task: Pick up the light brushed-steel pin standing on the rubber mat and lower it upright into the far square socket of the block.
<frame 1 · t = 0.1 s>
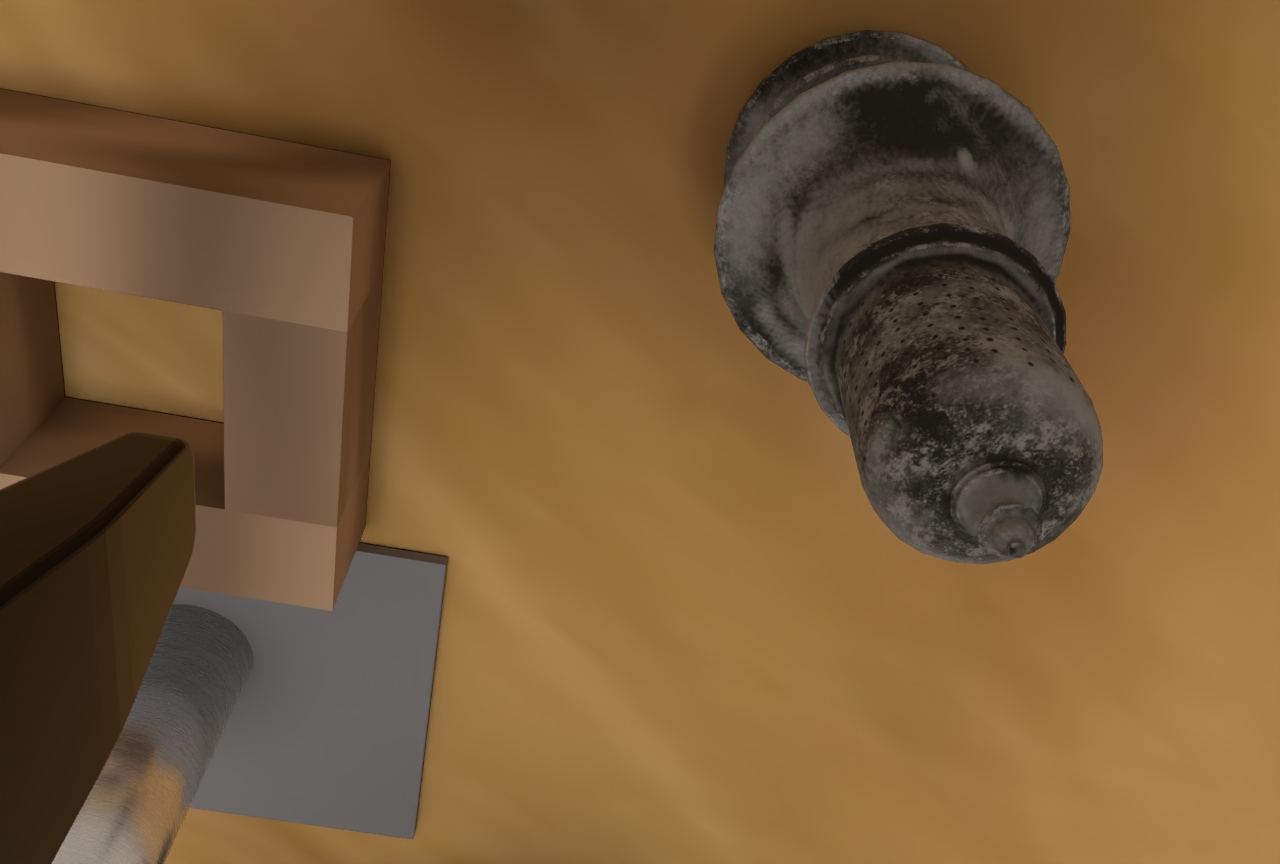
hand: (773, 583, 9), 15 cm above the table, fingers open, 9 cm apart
pin: (193, 650, 29), resting on mat
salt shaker: (859, 168, 22), on the table
mat: (237, 676, 30), on the table
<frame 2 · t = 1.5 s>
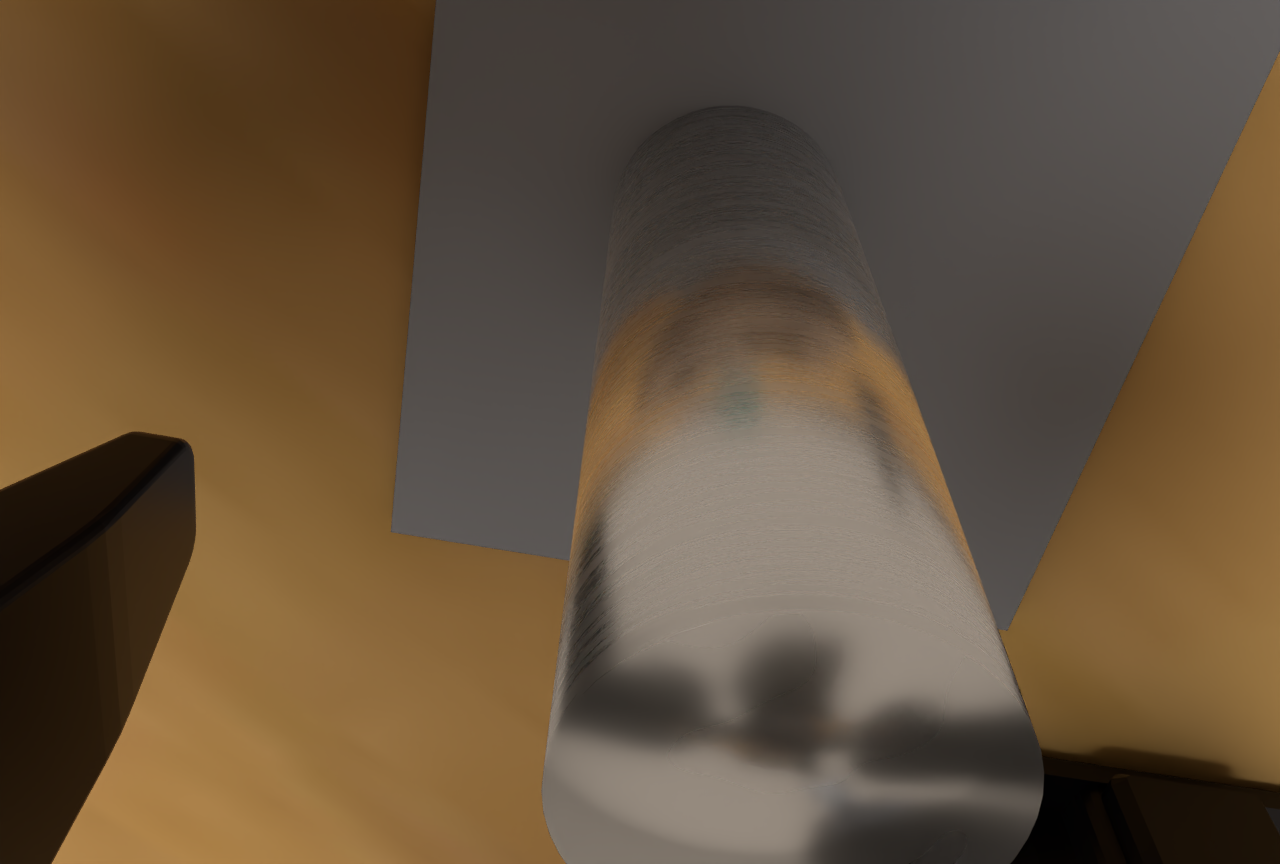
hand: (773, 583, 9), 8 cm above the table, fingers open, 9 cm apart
pin: (727, 219, 15), resting on mat
mat: (781, 292, 16), on the table
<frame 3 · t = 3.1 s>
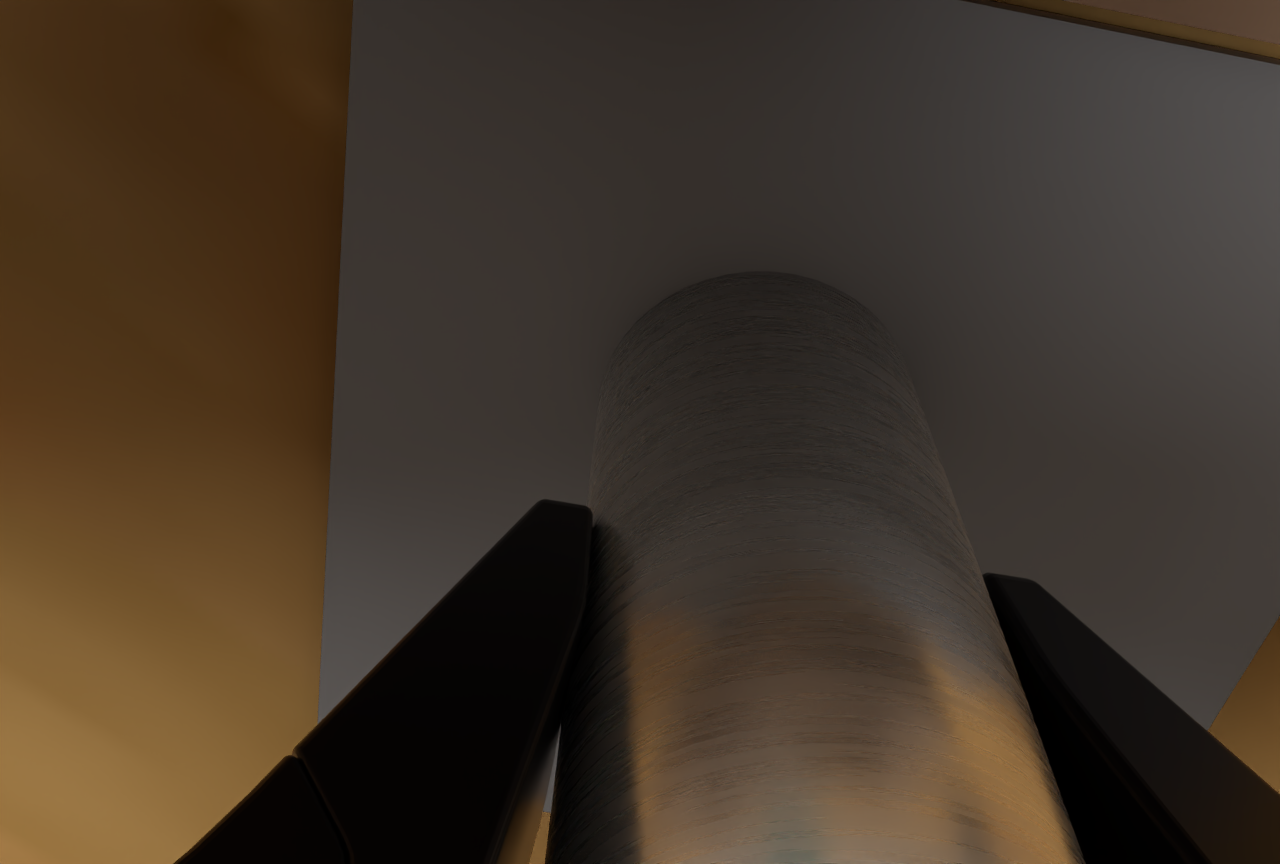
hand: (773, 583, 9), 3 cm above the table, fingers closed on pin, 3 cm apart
pin: (754, 415, 11), resting on mat, touching gripper
mat: (824, 498, 12), on the table
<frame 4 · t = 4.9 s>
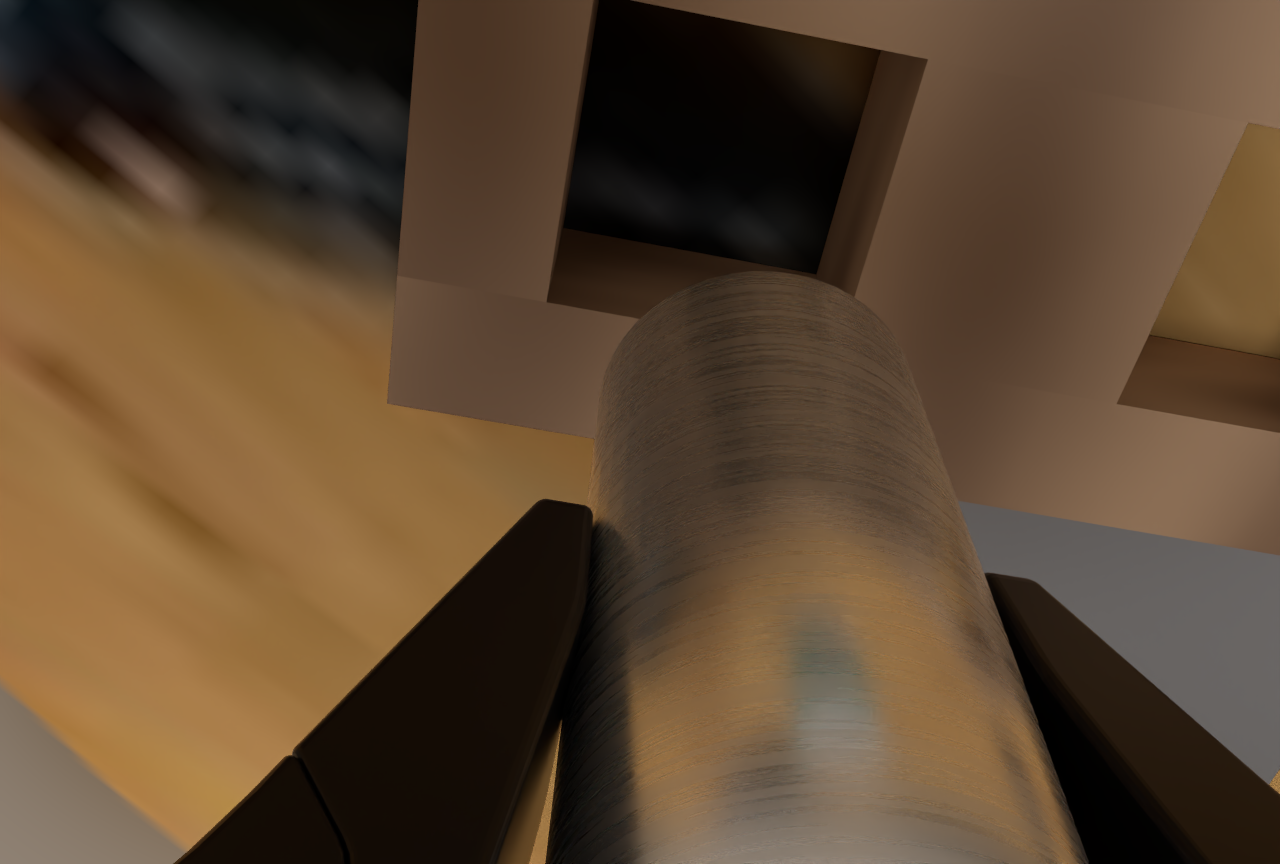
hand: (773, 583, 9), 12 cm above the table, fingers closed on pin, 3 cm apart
pin: (755, 416, 11), point 9 cm above the table, touching gripper
socket block: (982, 176, 19), on the table
mat: (1094, 667, 25), on the table
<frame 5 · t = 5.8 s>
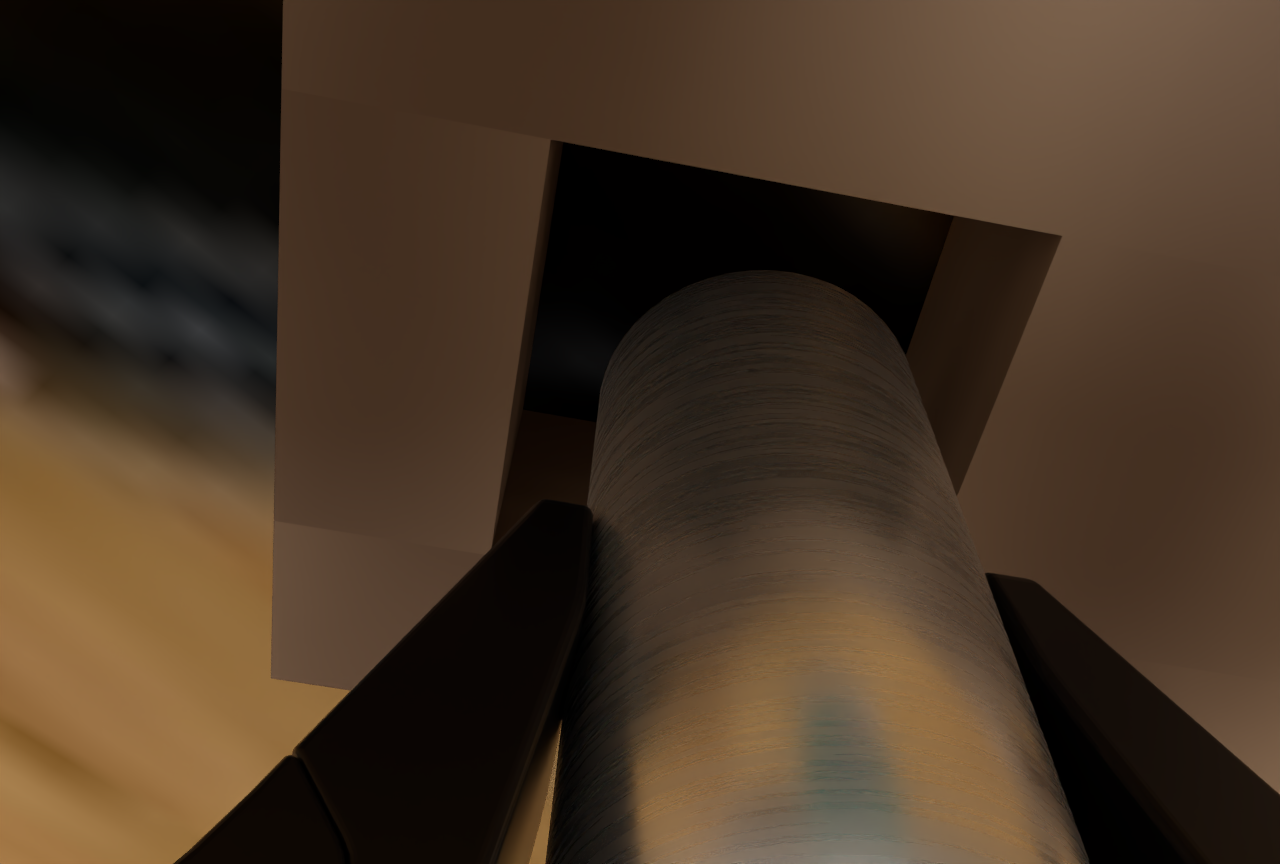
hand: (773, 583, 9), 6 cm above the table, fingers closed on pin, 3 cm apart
pin: (755, 415, 11), point 3 cm above the table, touching gripper
socket block: (1099, 347, 14), on the table
when the fingers open (4 cm above the table, at t = 6.7 s): pin drops 1 cm, resting in socket block.
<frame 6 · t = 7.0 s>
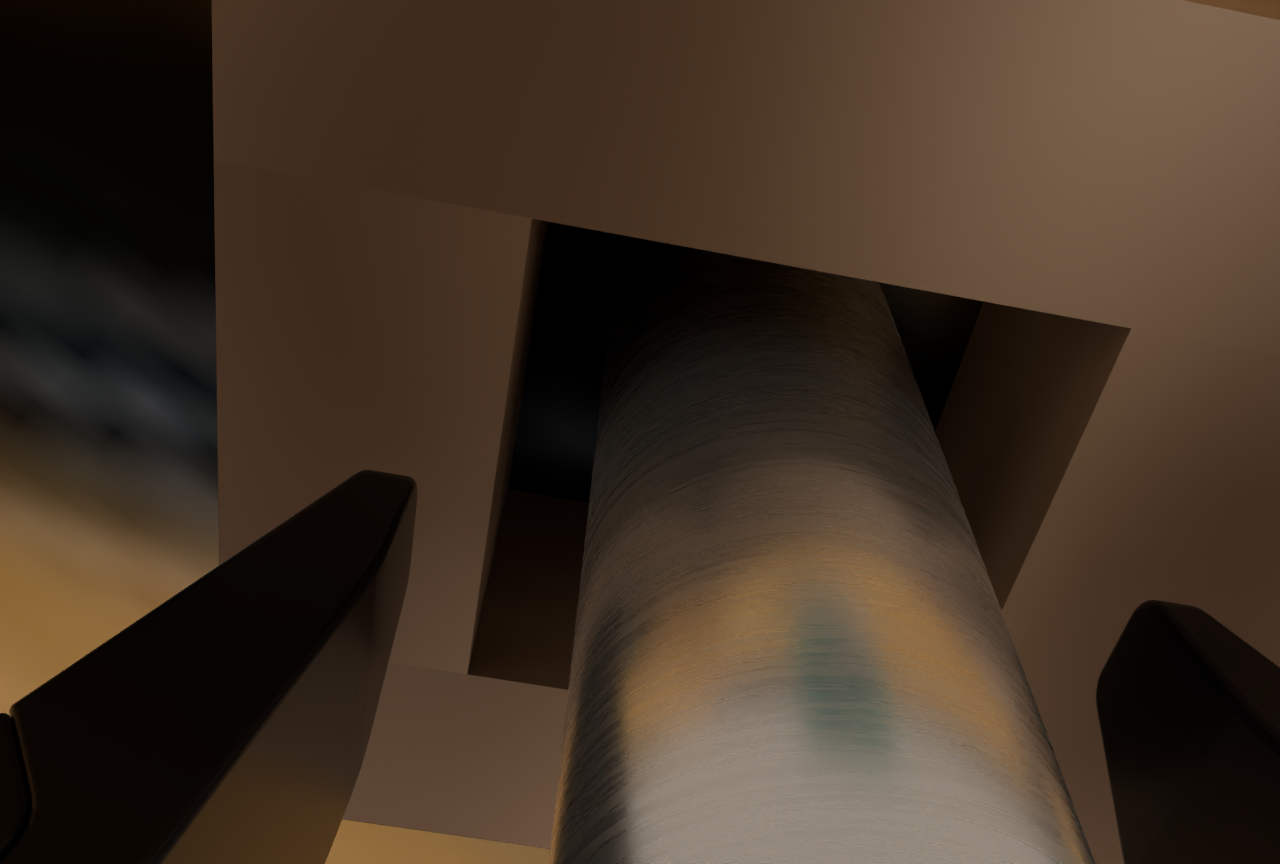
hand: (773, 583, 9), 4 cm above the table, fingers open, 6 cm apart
pin: (749, 350, 12), resting in socket block
socket block: (1151, 423, 12), on the table
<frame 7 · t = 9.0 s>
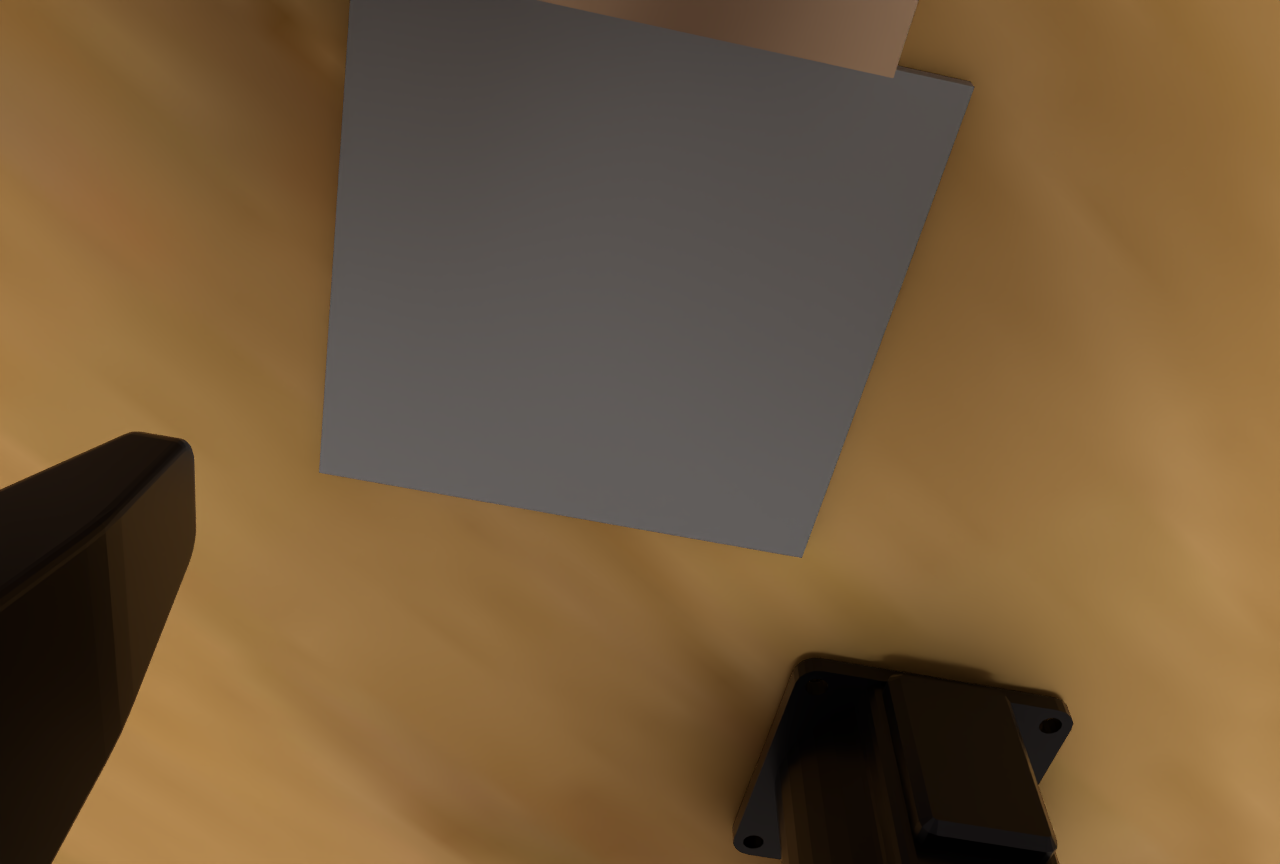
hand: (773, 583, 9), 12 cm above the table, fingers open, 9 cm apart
mat: (612, 293, 21), on the table
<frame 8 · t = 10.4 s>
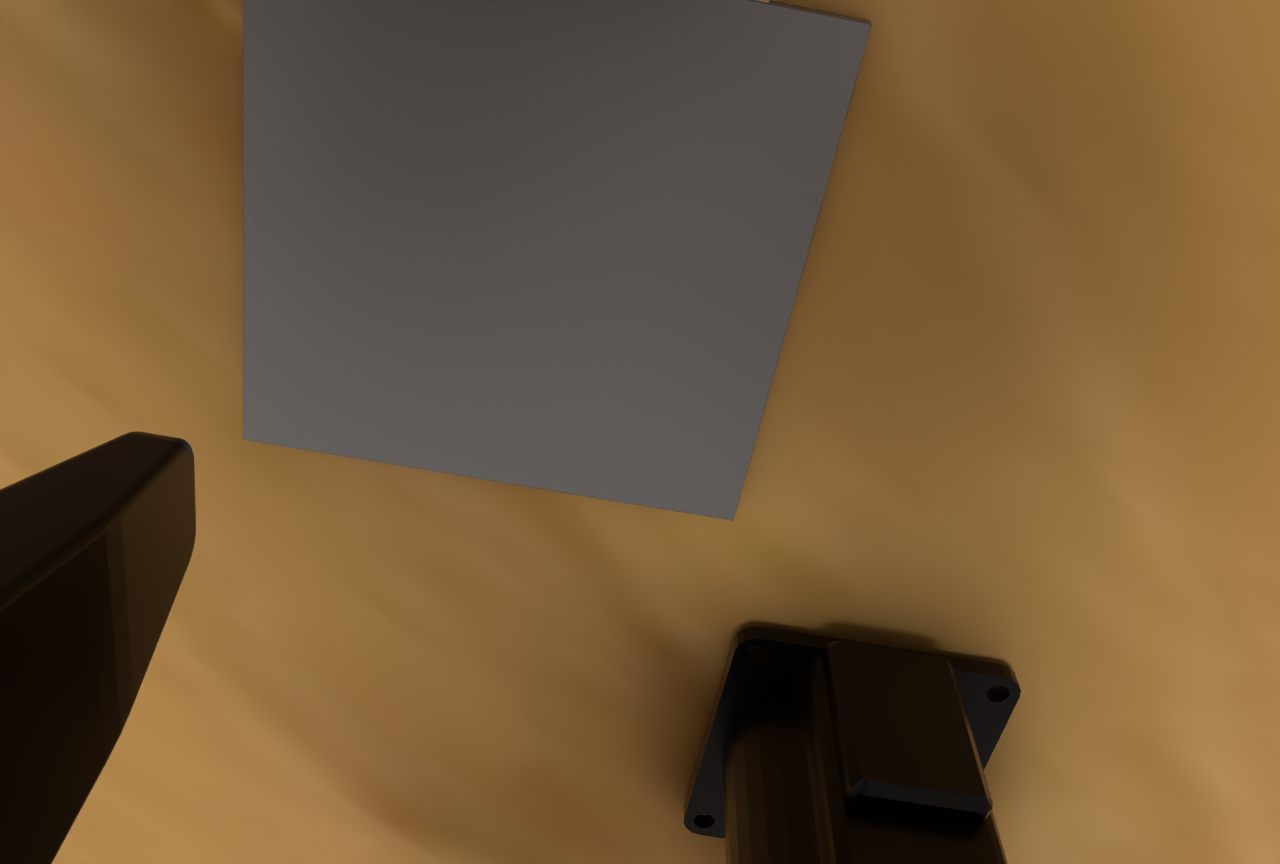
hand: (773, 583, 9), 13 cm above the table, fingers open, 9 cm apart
mat: (525, 248, 21), on the table
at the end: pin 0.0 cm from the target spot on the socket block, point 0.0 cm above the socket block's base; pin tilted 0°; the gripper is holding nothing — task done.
